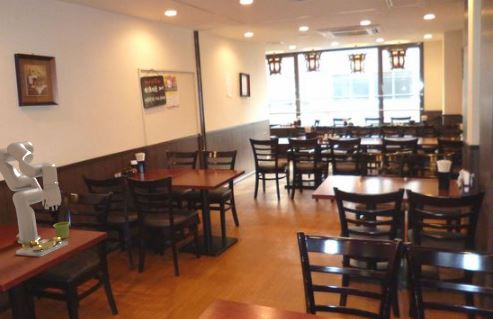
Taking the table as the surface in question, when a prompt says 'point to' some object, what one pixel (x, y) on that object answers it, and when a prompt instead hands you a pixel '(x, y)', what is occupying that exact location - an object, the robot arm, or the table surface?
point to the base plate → (44, 251)
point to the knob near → (29, 243)
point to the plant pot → (62, 229)
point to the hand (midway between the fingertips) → (53, 217)
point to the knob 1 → (42, 245)
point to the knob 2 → (55, 240)
